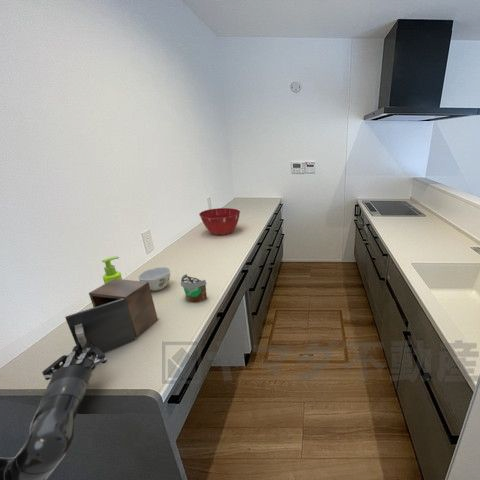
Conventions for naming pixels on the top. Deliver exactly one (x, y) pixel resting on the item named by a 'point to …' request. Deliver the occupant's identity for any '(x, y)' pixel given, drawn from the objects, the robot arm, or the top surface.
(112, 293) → the cupboard
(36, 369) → the top surface
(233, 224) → the mixing bowl
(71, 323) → the door
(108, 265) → the soap dispenser
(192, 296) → the food container
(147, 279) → the teacup
